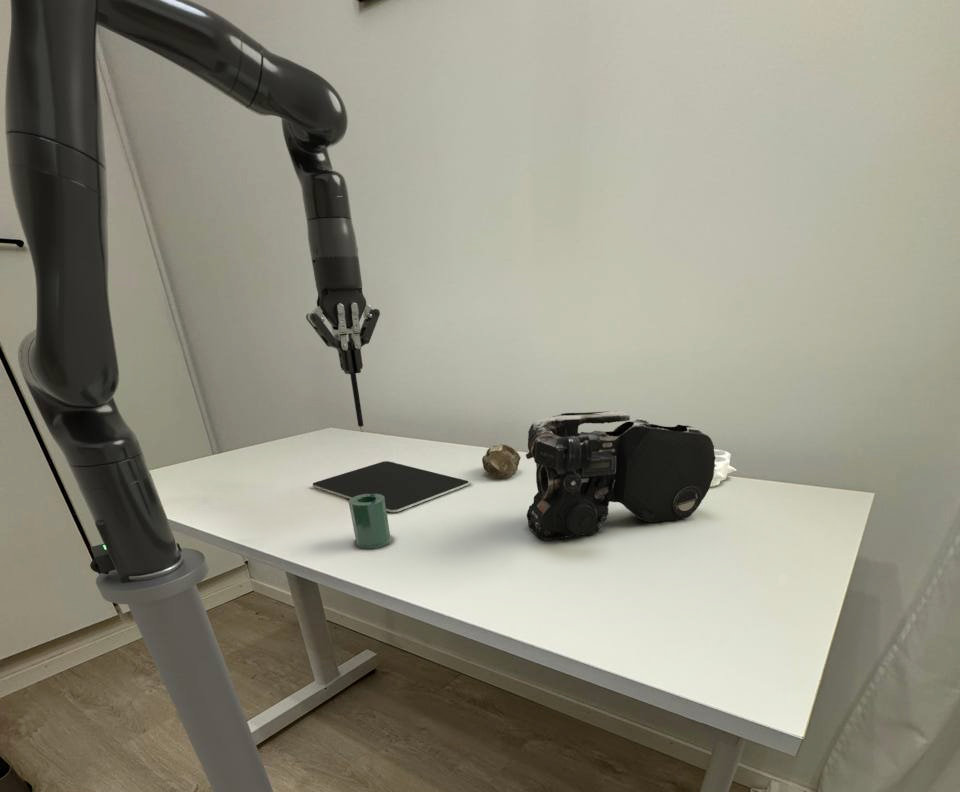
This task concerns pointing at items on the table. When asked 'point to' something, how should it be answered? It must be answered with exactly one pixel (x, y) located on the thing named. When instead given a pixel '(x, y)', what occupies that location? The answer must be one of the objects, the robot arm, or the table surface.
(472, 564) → the table surface
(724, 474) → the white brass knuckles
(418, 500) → the tablet
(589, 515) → the movie camera
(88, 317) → the robot arm
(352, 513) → the holder
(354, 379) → the stylus
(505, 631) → the table surface
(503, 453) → the brown rock
